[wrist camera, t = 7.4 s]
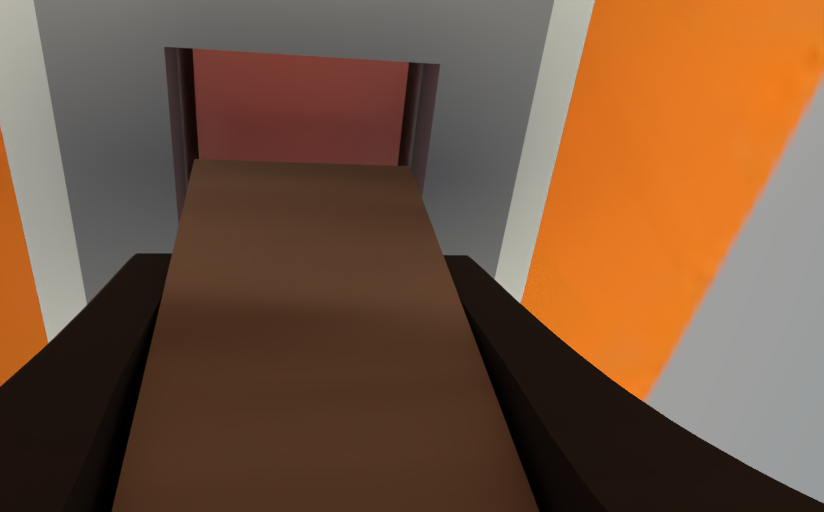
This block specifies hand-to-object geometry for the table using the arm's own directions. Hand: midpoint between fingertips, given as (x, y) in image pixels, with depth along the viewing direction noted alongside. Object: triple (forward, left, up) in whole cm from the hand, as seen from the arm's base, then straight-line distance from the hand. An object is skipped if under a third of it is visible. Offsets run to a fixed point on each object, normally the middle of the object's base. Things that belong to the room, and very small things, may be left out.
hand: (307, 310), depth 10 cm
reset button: (0, 0, -10) cm, 10 cm away
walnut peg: (0, 0, -2) cm, 2 cm away
